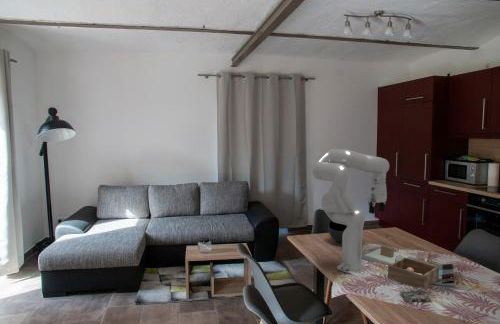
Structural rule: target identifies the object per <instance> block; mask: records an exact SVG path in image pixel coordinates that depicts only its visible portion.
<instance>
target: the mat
mask: <svg viewBox="0 0 500 324" xmlns="http://www.w3.org/2000/svg"><path fill="white" fill-rule="evenodd" d="M380 248H381V247H377V248H375V249H373V250H370V251H367V252H366V253H364V254H363V253H362V260H364V261H368V262H371V263H374V262H376V261H377V260H373V259H370V258H367V257H364V255H366V254H368V253H370V252H373V251H375V250H378V249H380ZM409 259H412V260H415V261H417V258H416V257H412V256H410V258H409Z"/></svg>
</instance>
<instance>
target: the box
mask: <svg viewBox="0 0 500 324" xmlns="http://www.w3.org/2000/svg"><path fill="white" fill-rule="evenodd" d="M408 267H411V268H413V269H414V272H415V273H414V272H411V271H407V270H404V269H407V268H408ZM417 273H419V274H417ZM420 274H422V275H420ZM439 277H440V266H436V265H432V264H429V263H427V262H422V261H419V260H412V259H408V258H405V257H404V258H402V259H400V260H398V261H396V262H394V263H392V264H389V265H388V266H387V279H389V280H392V281H395V282H398V283H401V284H404V285H408V286H410V287H412V288H415V289H416V288H423V289H424V290H425V291H426V289H428V288H429V287H431V286H432V285H434V284H435V283H437V282H438V281H439Z"/></svg>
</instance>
